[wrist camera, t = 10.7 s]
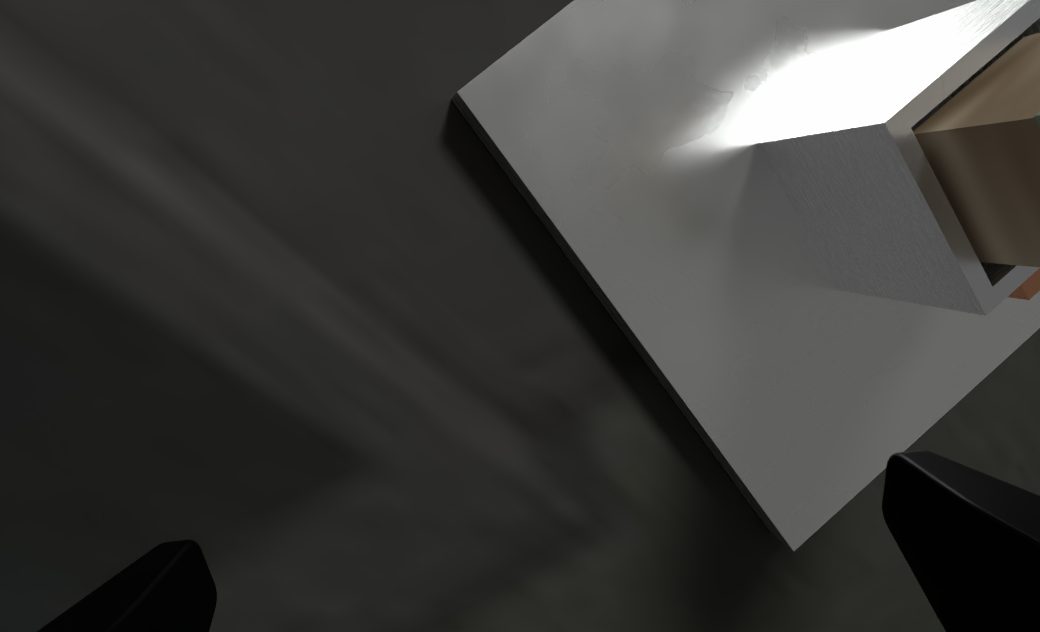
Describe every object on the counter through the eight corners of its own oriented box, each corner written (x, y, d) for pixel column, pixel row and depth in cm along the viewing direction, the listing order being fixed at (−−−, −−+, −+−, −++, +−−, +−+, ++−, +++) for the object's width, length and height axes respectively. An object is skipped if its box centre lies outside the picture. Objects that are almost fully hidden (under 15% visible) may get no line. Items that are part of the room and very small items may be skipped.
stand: (771, 533, 22) (912, 646, 17) (451, 99, 18) (494, 46, 12) (1125, 214, 24) (1366, 216, 18) (921, -270, 19) (1163, -476, 13)
